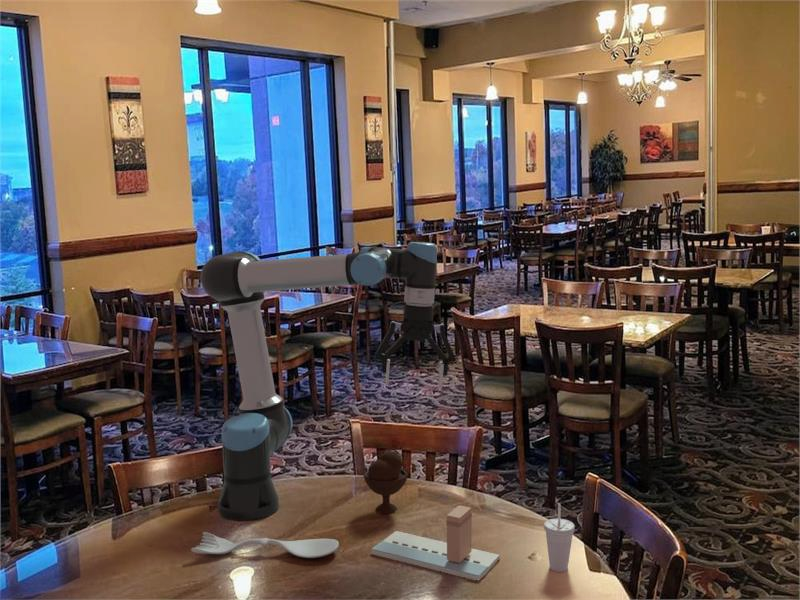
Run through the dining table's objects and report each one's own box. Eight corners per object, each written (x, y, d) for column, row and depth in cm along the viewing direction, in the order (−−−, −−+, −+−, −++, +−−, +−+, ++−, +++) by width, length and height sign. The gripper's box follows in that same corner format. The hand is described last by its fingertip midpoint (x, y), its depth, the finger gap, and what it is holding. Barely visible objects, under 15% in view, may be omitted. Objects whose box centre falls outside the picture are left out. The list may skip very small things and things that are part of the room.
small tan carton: (446, 559, 169) (446, 515, 168) (459, 548, 175) (458, 505, 173) (459, 563, 168) (459, 518, 166) (471, 551, 173) (471, 507, 172)
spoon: (203, 543, 183) (202, 529, 182) (341, 545, 181) (341, 531, 180) (191, 562, 174) (190, 547, 174) (335, 564, 172) (335, 549, 172)
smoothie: (572, 561, 171) (573, 499, 169) (575, 575, 165) (577, 511, 163) (542, 560, 172) (542, 498, 170) (544, 574, 166) (545, 510, 164)
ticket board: (371, 554, 176) (371, 548, 176) (396, 534, 185) (396, 530, 185) (478, 581, 163) (478, 575, 163) (499, 559, 173) (499, 554, 172)
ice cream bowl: (381, 498, 208) (380, 442, 205) (416, 507, 201) (415, 450, 199) (355, 511, 199) (354, 454, 197) (391, 522, 193) (390, 462, 190)
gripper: (369, 303, 195) (364, 387, 197) (470, 308, 196) (464, 392, 199) (369, 299, 202) (364, 380, 205) (466, 304, 204) (460, 385, 206)
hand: (413, 386), depth 202 cm, fingers open, 13 cm apart
